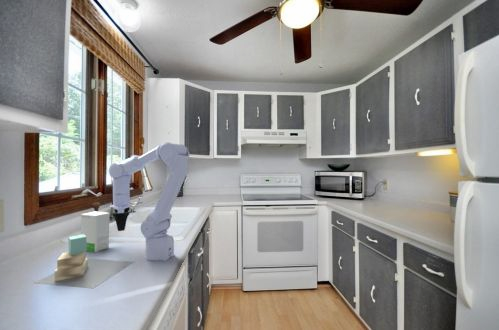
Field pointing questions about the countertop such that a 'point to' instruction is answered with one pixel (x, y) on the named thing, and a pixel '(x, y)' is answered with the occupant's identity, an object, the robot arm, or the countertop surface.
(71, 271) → the maple slab lower
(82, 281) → the grey board
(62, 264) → the maple slab upper
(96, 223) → the skincare box
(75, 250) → the sage block
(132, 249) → the countertop surface
